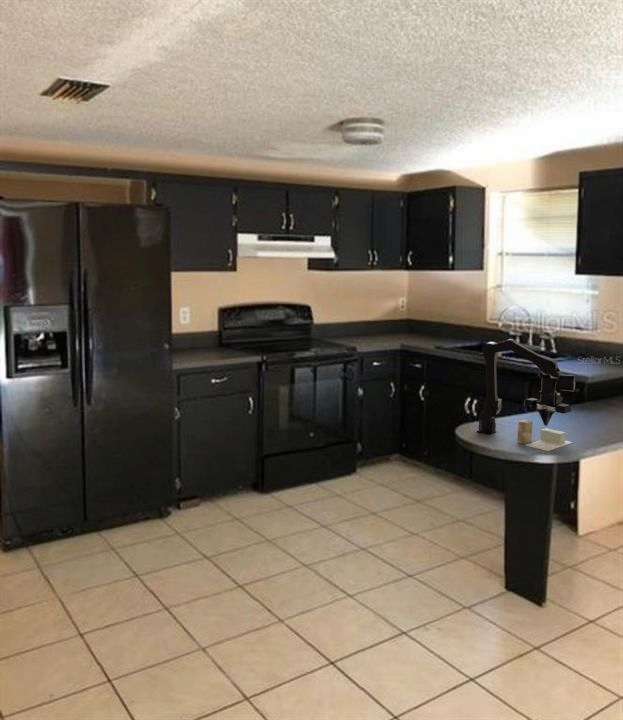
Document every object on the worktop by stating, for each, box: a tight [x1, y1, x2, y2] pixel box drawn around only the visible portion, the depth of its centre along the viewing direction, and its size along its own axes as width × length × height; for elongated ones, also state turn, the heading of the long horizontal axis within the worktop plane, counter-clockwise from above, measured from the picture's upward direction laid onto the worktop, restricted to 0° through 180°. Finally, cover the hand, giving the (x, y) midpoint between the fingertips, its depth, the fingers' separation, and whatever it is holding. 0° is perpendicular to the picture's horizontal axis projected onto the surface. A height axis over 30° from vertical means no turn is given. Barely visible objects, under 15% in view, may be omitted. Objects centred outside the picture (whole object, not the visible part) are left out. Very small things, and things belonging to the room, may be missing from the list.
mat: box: [524, 439, 574, 452], centre depth 284 cm, size 10×19×1 cm, turn 131°
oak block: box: [517, 419, 533, 445], centre depth 286 cm, size 4×4×9 cm
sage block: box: [539, 427, 567, 443], centre depth 288 cm, size 4×4×9 cm
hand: (545, 425), depth 290 cm, fingers closed
